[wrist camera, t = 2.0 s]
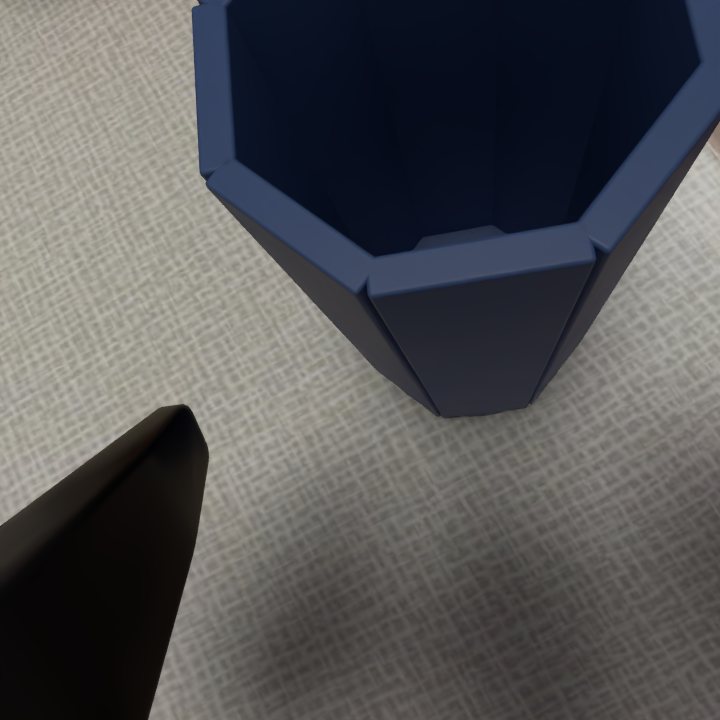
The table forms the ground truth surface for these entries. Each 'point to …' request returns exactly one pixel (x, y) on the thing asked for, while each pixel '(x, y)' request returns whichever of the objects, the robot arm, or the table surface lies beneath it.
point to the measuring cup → (455, 167)
